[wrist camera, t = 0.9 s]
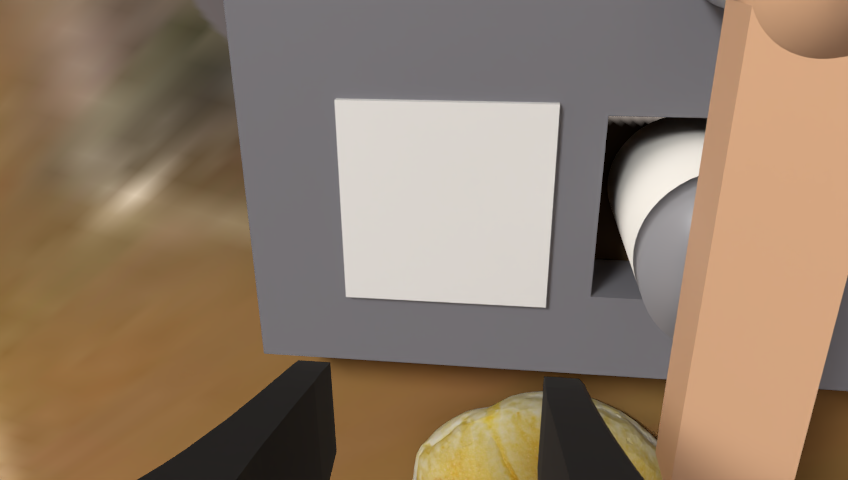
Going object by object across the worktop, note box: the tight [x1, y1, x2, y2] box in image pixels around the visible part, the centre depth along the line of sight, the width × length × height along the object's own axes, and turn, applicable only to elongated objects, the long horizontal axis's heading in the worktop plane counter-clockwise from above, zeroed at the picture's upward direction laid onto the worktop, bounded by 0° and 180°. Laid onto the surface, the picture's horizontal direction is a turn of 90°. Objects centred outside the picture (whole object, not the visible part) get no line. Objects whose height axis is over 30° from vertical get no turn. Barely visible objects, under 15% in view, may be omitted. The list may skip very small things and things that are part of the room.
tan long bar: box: [655, 0, 848, 480], centre depth 13 cm, size 12×3×2 cm, turn 0°
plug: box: [607, 117, 707, 339], centre depth 17 cm, size 4×4×6 cm
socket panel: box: [223, 0, 848, 391], centre depth 17 cm, size 20×13×6 cm, turn 90°
